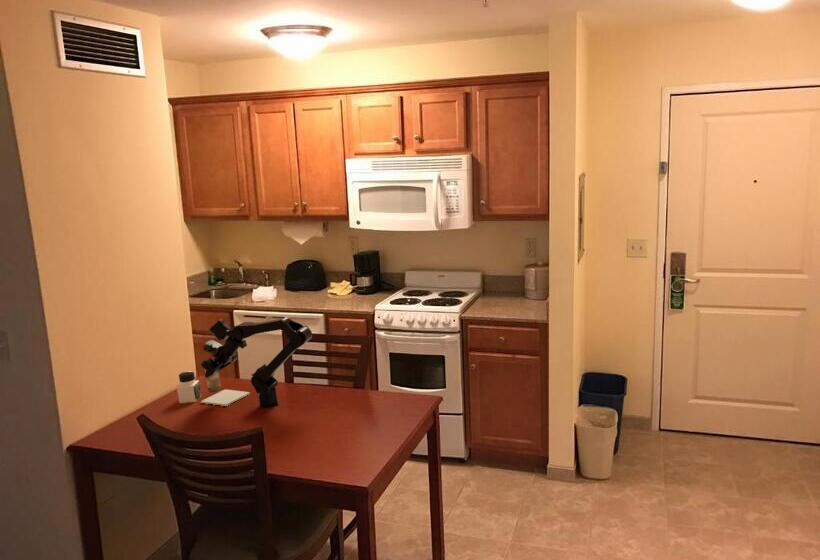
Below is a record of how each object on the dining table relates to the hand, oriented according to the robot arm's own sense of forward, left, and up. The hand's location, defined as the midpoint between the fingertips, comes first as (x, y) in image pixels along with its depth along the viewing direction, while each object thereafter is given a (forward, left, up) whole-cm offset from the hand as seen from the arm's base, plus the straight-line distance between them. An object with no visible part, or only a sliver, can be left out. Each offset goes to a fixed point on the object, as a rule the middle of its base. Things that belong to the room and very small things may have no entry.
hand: (209, 374), depth 268 cm
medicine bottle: (+9, -11, -13) cm, 19 cm away
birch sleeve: (-1, +1, -7) cm, 7 cm away
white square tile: (-5, -3, -12) cm, 14 cm away
